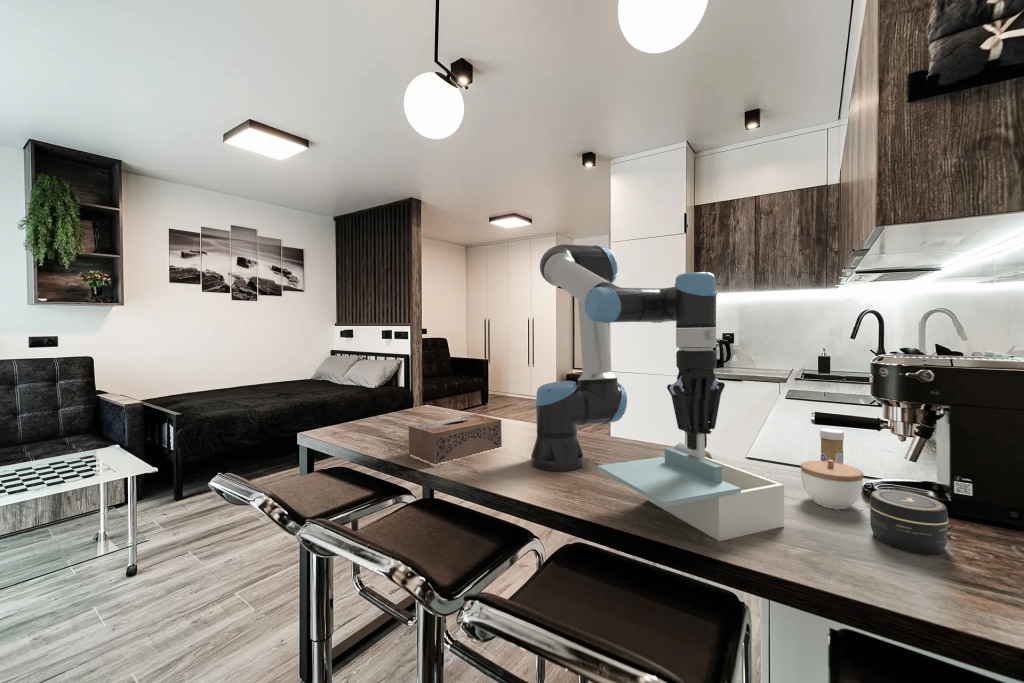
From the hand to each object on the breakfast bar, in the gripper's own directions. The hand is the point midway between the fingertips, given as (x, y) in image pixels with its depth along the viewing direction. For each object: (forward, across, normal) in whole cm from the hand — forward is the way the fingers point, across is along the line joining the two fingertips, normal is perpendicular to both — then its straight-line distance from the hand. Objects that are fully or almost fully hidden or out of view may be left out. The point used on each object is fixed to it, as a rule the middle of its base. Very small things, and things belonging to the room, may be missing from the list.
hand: (697, 464), depth 86 cm
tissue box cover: (+11, -36, +64) cm, 74 cm away
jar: (+11, +25, -22) cm, 35 cm away
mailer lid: (+2, -8, 0) cm, 9 cm away
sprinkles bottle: (+11, +41, +1) cm, 43 cm away
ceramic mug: (+11, +18, +20) cm, 29 cm away
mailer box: (+10, +3, 0) cm, 11 cm away
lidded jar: (+11, +30, -6) cm, 33 cm away
